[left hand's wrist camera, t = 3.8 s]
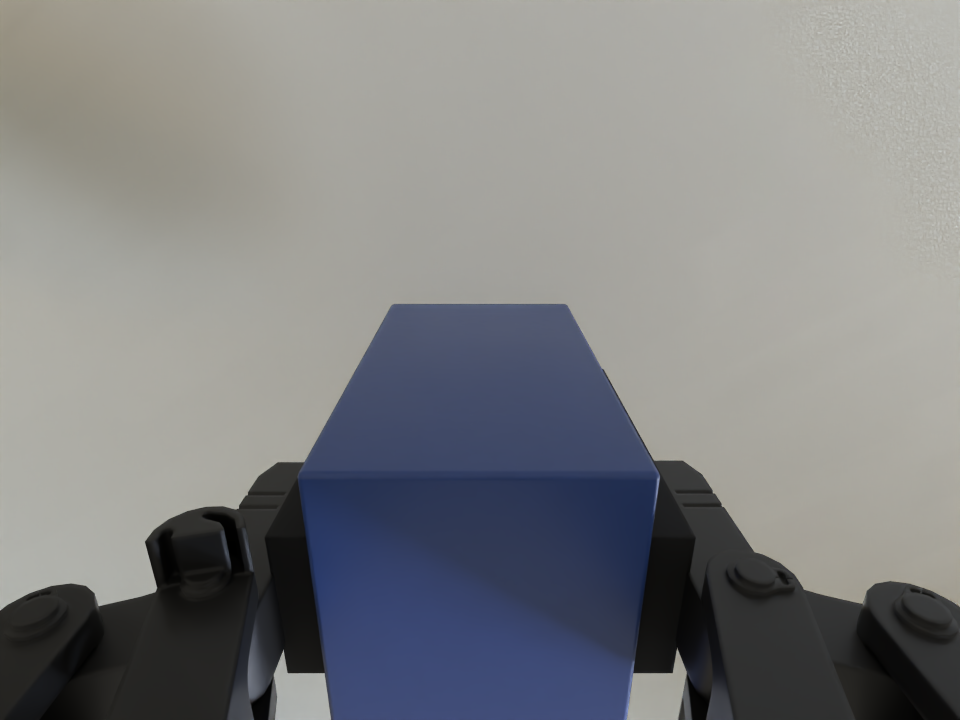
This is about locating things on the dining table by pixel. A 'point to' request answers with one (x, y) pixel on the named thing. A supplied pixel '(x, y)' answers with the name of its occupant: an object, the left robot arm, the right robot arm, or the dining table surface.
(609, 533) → the brick
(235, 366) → the dining table surface
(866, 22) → the dining table surface
